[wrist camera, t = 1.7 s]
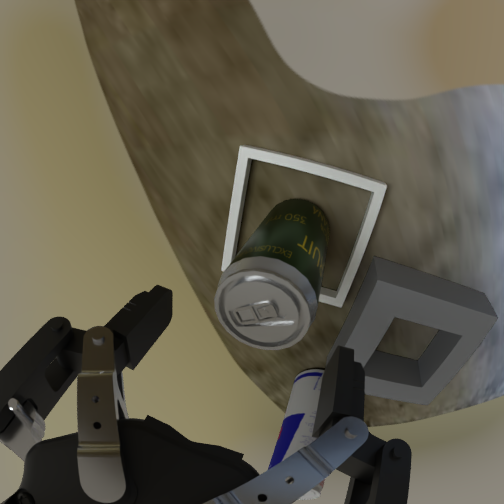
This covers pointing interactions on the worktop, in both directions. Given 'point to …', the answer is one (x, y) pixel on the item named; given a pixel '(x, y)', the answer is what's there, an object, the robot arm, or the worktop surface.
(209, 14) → the worktop surface
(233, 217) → the square frame
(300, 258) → the beer can
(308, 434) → the beverage can
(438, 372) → the socket block
